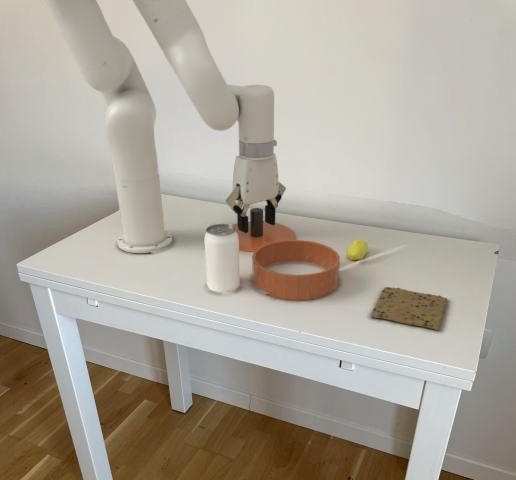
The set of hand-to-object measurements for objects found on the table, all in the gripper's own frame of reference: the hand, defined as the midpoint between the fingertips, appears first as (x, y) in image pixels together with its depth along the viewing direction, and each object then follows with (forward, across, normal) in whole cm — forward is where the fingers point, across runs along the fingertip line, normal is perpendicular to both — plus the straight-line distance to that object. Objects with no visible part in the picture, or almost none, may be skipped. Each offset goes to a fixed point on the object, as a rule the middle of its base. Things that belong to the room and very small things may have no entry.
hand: (256, 226), depth 126 cm
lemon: (+3, -11, +22) cm, 25 cm away
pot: (+3, +7, +22) cm, 23 cm away
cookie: (+3, -2, +44) cm, 44 cm away
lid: (+2, 0, 0) cm, 2 cm away
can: (+3, +20, +15) cm, 26 cm away
